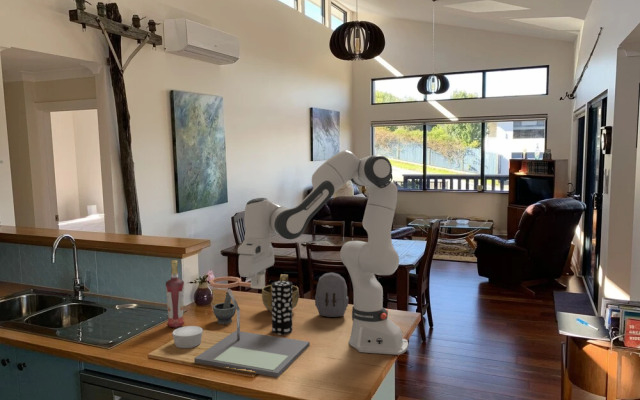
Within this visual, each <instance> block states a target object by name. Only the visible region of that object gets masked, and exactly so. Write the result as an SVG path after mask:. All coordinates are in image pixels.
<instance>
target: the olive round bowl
mask: <svg viewBox="0 0 640 400" xmlns="http://www.w3.org/2000/svg"><path fill="white" fill-rule="evenodd" d="M279 281H289V274H282V273H281V274H280V277H279ZM261 290H262V291H261V301H262V304H263V306H264V307H265V309H267V311H268V312H271V313H272V284H268V285H265V287H264V288H262V289H261ZM299 297H300V292H299V287H298V286H297V285H296V286H295V285H293V284H292V310H293V309H295V307H297V305H298V302H299Z"/></svg>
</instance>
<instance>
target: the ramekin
mask: <svg viewBox="0 0 640 400" xmlns="http://www.w3.org/2000/svg"><path fill="white" fill-rule="evenodd" d="M203 333H204V329H203V328H202V327H200V326H196V325H187V326H181V327H179V328H174V330H173V331H172V337H173V342H174V345H175V347H176V348H178V349H192V348H195V347H198V346H199V345H200V344H201V342H202V336H203Z"/></svg>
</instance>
